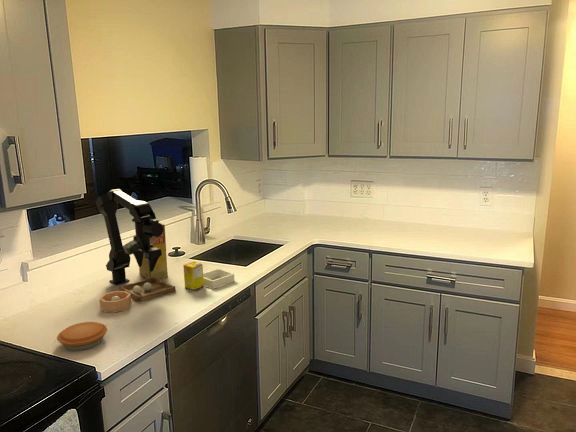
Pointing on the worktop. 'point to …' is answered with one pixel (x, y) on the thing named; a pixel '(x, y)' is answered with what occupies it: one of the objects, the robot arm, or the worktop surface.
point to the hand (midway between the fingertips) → (145, 268)
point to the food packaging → (161, 264)
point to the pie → (82, 335)
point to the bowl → (115, 305)
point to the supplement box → (193, 276)
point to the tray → (156, 291)
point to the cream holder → (226, 279)
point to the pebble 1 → (115, 298)
